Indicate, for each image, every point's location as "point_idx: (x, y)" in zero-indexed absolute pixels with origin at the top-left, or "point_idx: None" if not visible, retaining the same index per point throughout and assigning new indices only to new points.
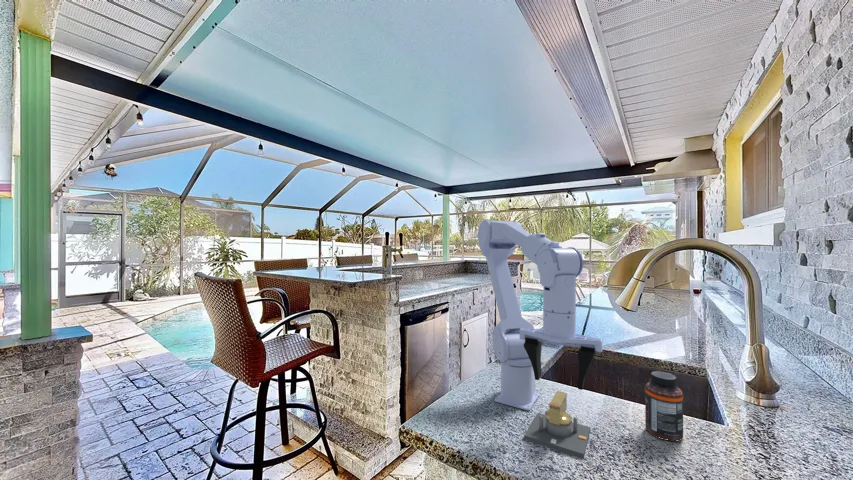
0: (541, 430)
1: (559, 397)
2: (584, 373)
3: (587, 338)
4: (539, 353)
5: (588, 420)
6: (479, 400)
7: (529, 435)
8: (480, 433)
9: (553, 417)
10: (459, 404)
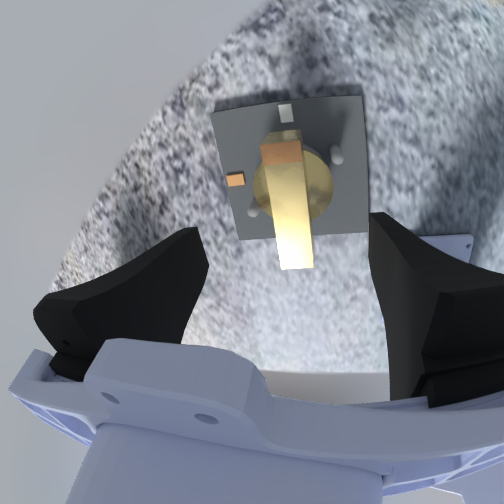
0: (331, 144)
1: (289, 221)
2: (134, 260)
3: (64, 427)
4: (395, 334)
5: (260, 277)
6: (499, 221)
7: (349, 102)
8: (453, 65)
9: (286, 134)
10: None
